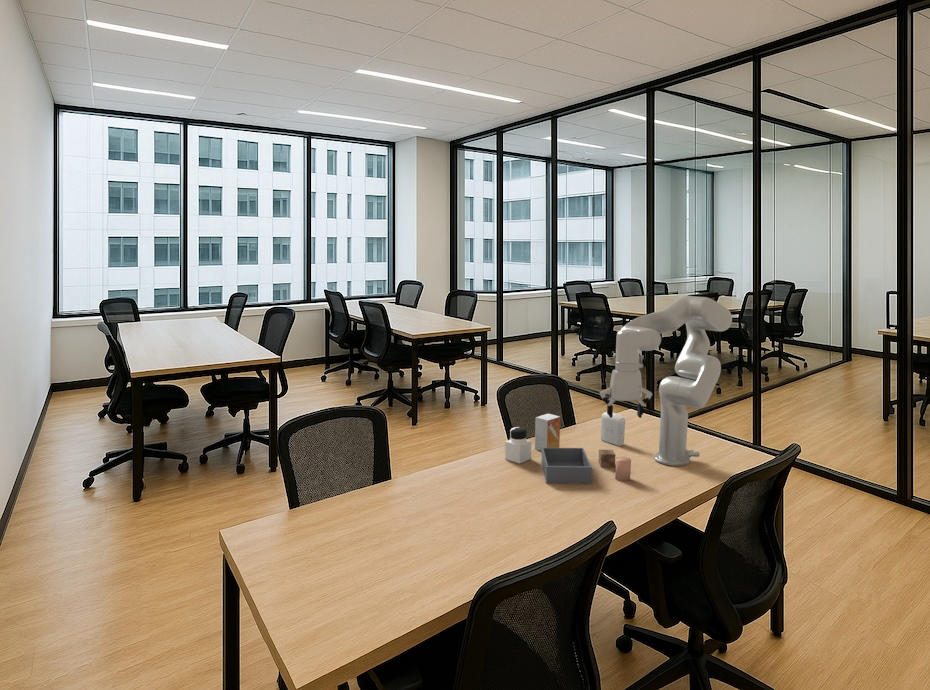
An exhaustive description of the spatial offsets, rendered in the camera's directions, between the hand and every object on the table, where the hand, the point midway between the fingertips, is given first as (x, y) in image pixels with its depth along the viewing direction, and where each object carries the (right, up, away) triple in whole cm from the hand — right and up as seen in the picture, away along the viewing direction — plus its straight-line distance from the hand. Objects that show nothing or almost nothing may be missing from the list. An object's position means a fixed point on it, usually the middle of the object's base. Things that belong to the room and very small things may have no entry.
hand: (624, 416), depth 204 cm
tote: (-19, -21, +9) cm, 29 cm away
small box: (-22, -17, +34) cm, 44 cm away
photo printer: (+6, -16, +41) cm, 44 cm away
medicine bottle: (-34, -19, +23) cm, 45 cm away
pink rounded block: (0, -22, +4) cm, 22 cm away
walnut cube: (-2, -20, +17) cm, 26 cm away
